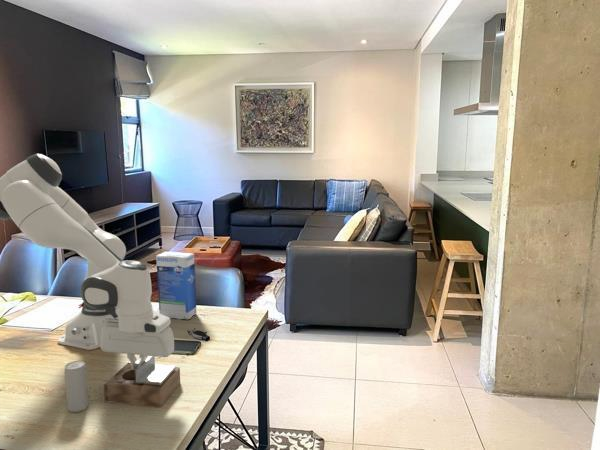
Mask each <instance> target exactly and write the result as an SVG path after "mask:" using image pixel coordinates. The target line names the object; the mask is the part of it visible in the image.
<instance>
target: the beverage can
mask: <svg viewBox="0 0 600 450" xmlns="http://www.w3.org/2000/svg"><path fill="white" fill-rule="evenodd" d="M86 370H87V369H86V364H85V362H84V360H83V361H82V360H75V361H70V362H68V363H67V364H65V366H64V378H65V379H64V381H65V391H66V401H67V403H66V404H67V410H68V411H70V412H71V413H79V412H82V411H84V410H85V409H87V407H88V406H89V396H88V382H87V381H88V380H87V371H86Z"/></svg>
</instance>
